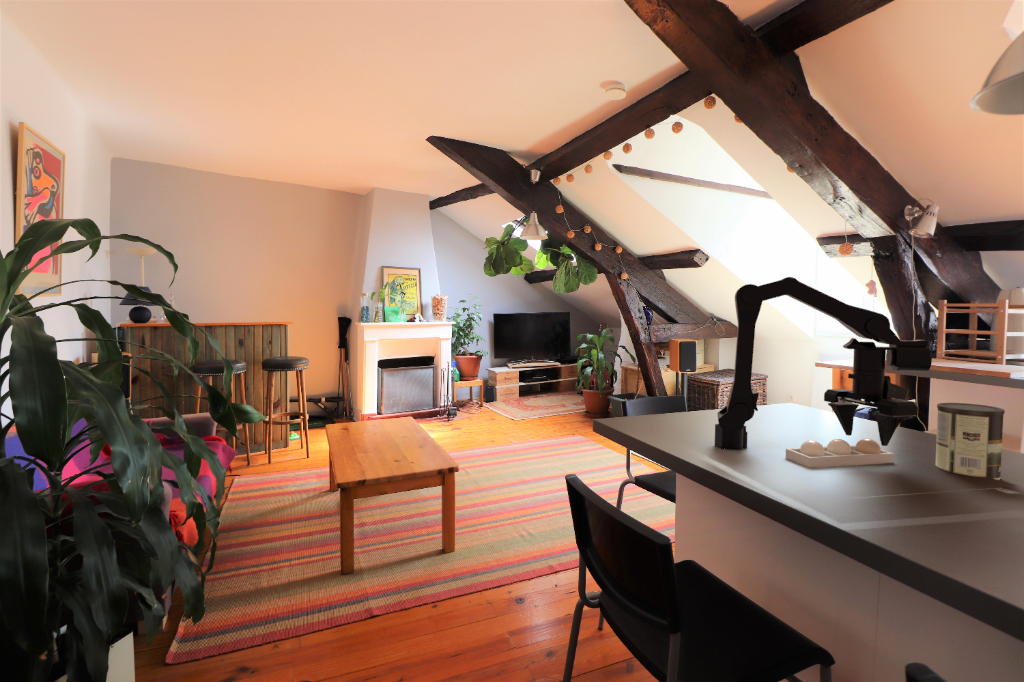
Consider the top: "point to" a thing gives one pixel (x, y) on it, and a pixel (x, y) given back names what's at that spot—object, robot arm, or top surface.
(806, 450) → the cream egg
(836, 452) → the cream egg
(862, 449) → the brown egg
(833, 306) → the robot arm
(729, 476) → the top surface
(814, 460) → the carton
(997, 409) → the coffee can
